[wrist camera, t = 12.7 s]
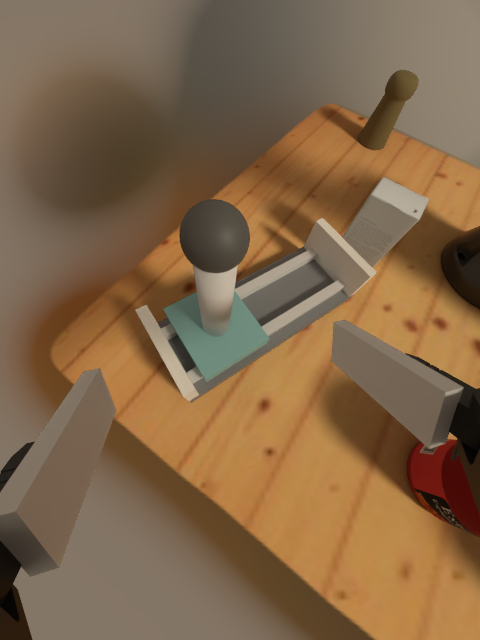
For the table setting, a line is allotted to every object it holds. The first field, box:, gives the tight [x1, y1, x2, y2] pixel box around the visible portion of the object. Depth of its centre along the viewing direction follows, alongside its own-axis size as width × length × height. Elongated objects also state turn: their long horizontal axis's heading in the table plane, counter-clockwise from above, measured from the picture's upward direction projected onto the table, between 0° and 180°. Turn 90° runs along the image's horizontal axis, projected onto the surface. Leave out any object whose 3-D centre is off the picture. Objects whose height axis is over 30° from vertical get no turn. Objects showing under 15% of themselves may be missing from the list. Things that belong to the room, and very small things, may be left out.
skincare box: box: [342, 177, 429, 268], centre depth 32 cm, size 6×4×12 cm
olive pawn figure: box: [358, 70, 418, 150], centre depth 47 cm, size 6×6×11 cm
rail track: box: [135, 218, 377, 402], centre depth 29 cm, size 26×10×7 cm, turn 124°
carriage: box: [163, 199, 270, 382], centre depth 20 cm, size 8×9×17 cm
